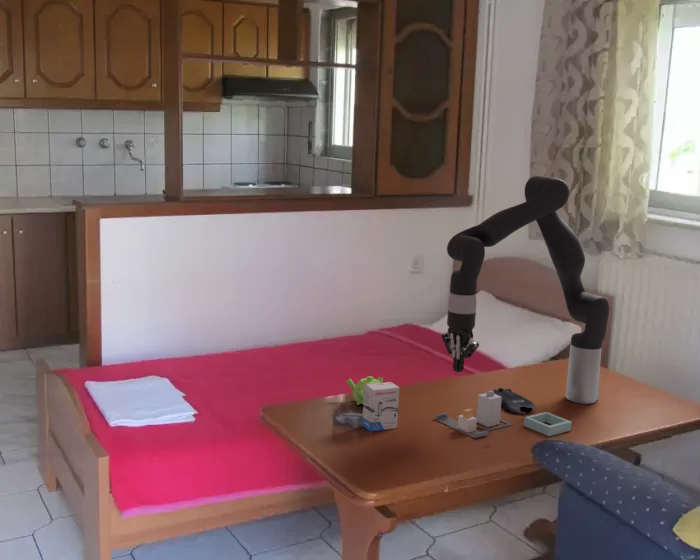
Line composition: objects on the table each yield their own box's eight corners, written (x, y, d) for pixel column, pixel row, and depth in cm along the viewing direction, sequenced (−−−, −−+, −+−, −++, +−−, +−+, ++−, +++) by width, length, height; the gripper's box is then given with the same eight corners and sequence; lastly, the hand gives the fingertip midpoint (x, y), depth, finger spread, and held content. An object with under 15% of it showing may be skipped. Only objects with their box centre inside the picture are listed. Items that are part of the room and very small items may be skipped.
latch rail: (446, 416, 230) (446, 412, 230) (487, 436, 217) (488, 431, 216) (434, 419, 227) (434, 414, 227) (475, 439, 214) (476, 434, 214)
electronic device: (485, 405, 247) (513, 414, 233) (487, 386, 247) (515, 395, 233) (510, 406, 251) (540, 415, 237) (512, 388, 251) (542, 397, 237)
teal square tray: (545, 420, 231) (546, 411, 230) (570, 430, 224) (571, 421, 223) (523, 425, 226) (524, 417, 225) (548, 436, 218) (549, 427, 218)
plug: (487, 419, 230) (490, 388, 228) (499, 424, 226) (502, 392, 224) (476, 421, 227) (478, 390, 225) (487, 426, 223) (490, 395, 222)
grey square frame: (488, 414, 233) (488, 413, 233) (512, 425, 225) (512, 424, 225) (463, 420, 228) (463, 419, 228) (487, 431, 220) (487, 430, 220)
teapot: (392, 410, 233) (394, 382, 232) (354, 411, 230) (355, 383, 229) (381, 397, 244) (382, 370, 242) (344, 399, 241) (345, 371, 239)
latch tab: (465, 425, 222) (467, 406, 221) (475, 430, 219) (477, 411, 218) (457, 427, 221) (459, 408, 220) (467, 432, 217) (469, 413, 216)
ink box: (370, 432, 215) (372, 390, 213) (361, 426, 220) (363, 384, 217) (397, 428, 219) (400, 386, 217) (388, 422, 224) (391, 381, 221)
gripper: (489, 313, 215) (485, 375, 218) (455, 303, 225) (451, 363, 229) (468, 316, 211) (464, 380, 214) (435, 305, 221) (431, 366, 224)
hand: (457, 371), depth 221 cm, fingers closed
